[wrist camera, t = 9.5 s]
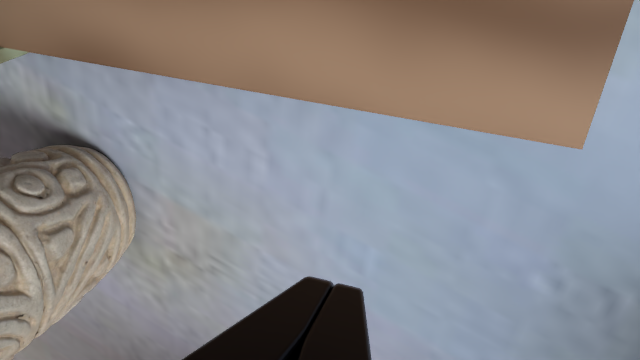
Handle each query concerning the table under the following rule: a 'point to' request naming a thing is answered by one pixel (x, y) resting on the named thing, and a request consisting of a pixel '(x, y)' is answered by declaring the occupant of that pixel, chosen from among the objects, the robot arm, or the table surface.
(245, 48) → the board
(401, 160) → the table surface
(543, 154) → the table surface
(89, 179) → the carving
